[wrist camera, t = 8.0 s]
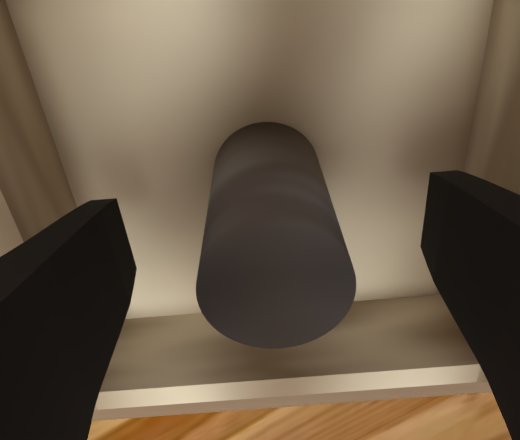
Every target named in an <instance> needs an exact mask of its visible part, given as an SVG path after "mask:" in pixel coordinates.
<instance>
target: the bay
mask: <svg viewBox="0 0 520 440" xmlns="http://www.w3.org/2000/svg"><path fill="white" fill-rule="evenodd" d="M485 392H492V390H491V388H490V385H489V383H488V381H486V382H472V383H459V384H445V385H431V386H418V387H404V388H390V389H376V390H363V391H349V392H335V393H322V394H308V395H294V396H280V397H267V398H253V399H239V400H226V401H212V402H198V403H184V404H171V405H157V406H143V407H130V408H116V409H102V410H94V413H93V417H92V421H97V420H111V419H125V418H139V417H153V416H167V415H180V414H194V413H208V412H222V411H236V410H250V409H263V408H277V407H291V406H305V405H319V404H333V403H346V402H360V401H374V400H388V399H402V398H416V397H429V396H443V395H457V394H471V393H485Z"/></svg>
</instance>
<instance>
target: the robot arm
mask: <svg viewBox="0 0 520 440" xmlns="http://www.w3.org/2000/svg"><path fill="white" fill-rule="evenodd" d="M420 247H421V250H422V253H423V255H424V258H425V261H426V264H427V267H428V269H429V272H430V274H431V277H432V279H433V282H434V284H435V286H436V287H437V289H438V291H439V293H440V295H441V297H442V298H443V300H444V302H445V304H446V306H447V308H448V309H449V311H450V313H451V315H452V316H453V318H454V320H455V322H456V323H457V325H458V327H459V329H460V331H461V332H462V334H463V336H464V338H465V339H466V341H467V343H468V345H469V347H470V348H471V350H472V352H473V354H474V355H475V357H476V359H477V361H478V363H479V365H480V367H481V369H482V371H483V373H484V375H485V377H486V379H487V381H488V383H489V385H490V388H491V390H492V392H493V395H494V397H495V399H496V402H497V404H498V406H499V409H500V411H501V413H502V416H503V418H504V420H505V423H506V425H507V428H508V430H509V433H510V435H511V438H512V440H520V195H519V194H516V193H514V192H512V191H510V190H507V189H505V188H503V187H500V186H498V185H496V184H493V183H491V182H489V181H486V180H484V179H481V178H479V177H477V176H474V175H471V174H468V173H466V172H462V171H459V170H453V171H441V172H430V176H429V184H428V191H427V199H426V207H425V214H424V222H423V230H422V237H421V245H420ZM136 271H137V267H136V264H135V260H134V257H133V253H132V250H131V246H130V243H129V239H128V236H127V233H126V229H125V226H124V222H123V219H122V215H121V212H120V208H119V205H118V201H117V198H113V199H101V200H90V201H88V202H86V203H84V204H82V205H80V206H79V207H77V208H75V209H74V210H72V211H71V212H69V213H67V214H66V215H64V216H63V217H61V218H60V219H58V220H57V221H55V222H54V223H52V224H51V225H49V226H48V227H46V228H45V229H43V230H42V231H40V232H39V233H37V234H36V235H34V236H33V237H31V238H30V239H28V240H27V241H25V242H24V243H22V244H20V245H19V246H17V247H16V248H14V249H12V250H11V251H9V252H7V253H6V254H4V255H3V256H1V257H0V440H87V438H88V434H89V430H90V425H91V421H92V417H93V413H94V409H95V405H96V402H97V399H98V395H99V392H100V389H101V386H102V383H103V380H104V377H105V374H106V372H107V369H108V366H109V363H110V360H111V358H112V355H113V352H114V349H115V346H116V344H117V341H118V338H119V335H120V332H121V330H122V327H123V324H124V321H125V318H126V315H127V312H128V309H129V306H130V302H131V298H132V293H133V288H134V282H135V276H136Z"/></svg>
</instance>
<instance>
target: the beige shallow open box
mask: <svg viewBox="0 0 520 440" xmlns="http://www.w3.org/2000/svg"><path fill="white" fill-rule="evenodd" d="M453 170H459V171H462V172H466V173H468V174H471V175H474V176H477V177H479V178H481V179H484V180H486V181H489V182H491V183H493V184H496V185H498V186H500V187H503V188H505V189H507V190H510V191H512V192H514V193H516V194H519V195H520V0H0V257H1V256H3V255H4V254H6V253H7V252H9V251H11V250H12V249H14V248H16V247H17V246H19V245H20V244H22V243H24V242H25V241H27V240H28V239H30V238H31V237H33V236H34V235H36V234H37V233H39V232H40V231H42V230H43V229H45V228H46V227H48V226H49V225H51V224H52V223H54V222H55V221H57V220H58V219H60V218H61V217H63V216H64V215H66V214H67V213H69V212H71V211H72V210H74V209H75V208H77V207H79V206H80V205H82V204H84V203H86V202H88V201H90V200H101V199H113V198H117V201H118V205H119V208H120V212H121V215H122V219H123V222H124V226H125V229H126V233H127V236H128V239H129V243H130V246H131V250H132V253H133V257H134V260H135V264H136V267H137V271H136V276H135V282H134V288H133V293H132V298H131V302H130V306H129V309H128V312H127V315H126V318H125V321H124V324H123V327H122V330H121V332H120V335H119V338H118V341H117V344H116V346H115V349H114V352H113V355H112V358H111V360H110V363H109V366H108V369H107V372H106V374H105V377H104V380H103V383H102V386H101V389H100V392H99V395H98V399H97V402H96V405H95V409H94V410H102V409H116V408H130V407H143V406H157V405H171V404H184V403H198V402H212V401H226V400H239V399H253V398H267V397H280V396H294V395H308V394H322V393H335V392H349V391H363V390H376V389H390V388H404V387H418V386H431V385H445V384H459V383H472V382H486V381H487V379H486V377H485V375H484V373H483V371H482V369H481V367H480V365H479V363H478V361H477V359H476V357H475V355H474V354H473V352H472V350H471V348H470V347H469V345H468V343H467V341H466V339H465V338H464V336H463V334H462V332H461V331H460V329H459V327H458V325H457V323H456V322H455V320H454V318H453V316H452V315H451V313H450V311H449V309H448V308H447V306H446V304H445V302H444V300H443V298H442V297H441V295H440V293H439V291H438V289H437V287H436V286H435V284H434V282H433V279H432V277H431V274H430V272H429V269H428V267H427V264H426V261H425V258H424V255H423V253H422V250H421V247H420V245H421V237H422V230H423V222H424V214H425V207H426V199H427V191H428V184H429V176H430V172H441V171H453Z"/></svg>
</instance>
